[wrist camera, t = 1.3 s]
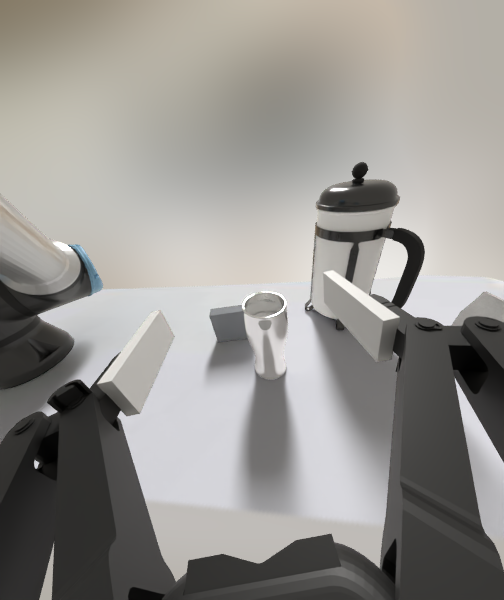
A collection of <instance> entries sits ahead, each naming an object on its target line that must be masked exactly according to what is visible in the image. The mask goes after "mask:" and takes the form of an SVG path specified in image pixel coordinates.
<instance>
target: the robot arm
mask: <svg viewBox="0 0 504 600" xmlns="http://www.w3.org/2000/svg"><path fill="white" fill-rule="evenodd" d="M323 284H324V303H325V304H326V305H327V307H328V308H329V309H330V310H331V311H332V312H333V313H334V314H335V316H336V317H337V318H338V319H339V320H340V321H341V322H342V324H343V325H344V326H345V327H346V328H347V329H348V330H349V332H350V333H351V334H352V335H353V336H354V337H355V338H356V339H357V341H358V342H359V343H360V344H361V345H362V346H363V347H364V349H365V350H366V351H367V352H368V353H369V354H370V355H371V357H372V358H373V359H374V360H375V361H376V362H377V363H378V362H383V361H387V360H391V359H392V354H393V351H394V352H395V353H396V354H397V355H398V356H399V359H398V364H397V368H396V372H397V381H396V394H395V407H394V420H393V432H392V445H391V458H390V471H389V483H388V496H387V509H386V518H385V525H384V531H383V539H382V548H381V560H380V569H379V568H378V567H377V566H376V565H375V564H374V563H373V562H371V561H370V560H369V559H367V558H366V557H365V556H364V555H362V554H360V553H359V552H357V551H355V550H354V549H352V548H350V547H347V546H345V545H343V544H339V543H335V542H334V541H333V537H332V534H327V535H322V536H317V537H311V538H306V539H301V540H296V541H294V542H293V543H291V544H290V545H288V546H287V547H286V548H284V549H283V550H281V551H280V552H278V553H276V554H275V555H274V556H272V557H271V558H269V559H268V560H266V561H265V562H263V563H260V564H257V563H253V562H250V561H246V560H242V559H239V558H235V557H232V556H228V555H224V554H220V555H215V556H210V557H205V558H199V559H194V560H189V561H188V568H187V573H186V574H185V575H184V576H182V577H181V578H180V579H179V580H178V581H177V582H176V581H175V579H174V576H173V574H172V572H171V571H170V569H169V568H168V566H167V565H166V563H165V562H164V560H163V558H162V555H161V552H160V549H159V546H158V542H157V539H156V536H155V532H154V529H153V526H152V523H151V520H150V516H149V513H148V509H147V506H146V503H145V499H144V496H143V493H142V490H141V486H140V483H139V480H138V476H137V473H136V470H135V466H134V463H133V460H132V457H131V453H130V450H129V447H128V443H127V440H126V437H125V433H124V430H123V427H122V423H121V421H120V419H119V418H118V417H117V416H118V414H119V412H120V411H122V412H123V413H124V414H125V415H126V416H131V415H135V414H140V412H141V410H142V408H143V406H144V403H145V401H146V399H147V397H148V395H149V392H150V390H151V388H152V386H153V384H154V381H155V379H156V377H157V375H158V372H159V370H160V368H161V366H162V364H163V361H164V359H165V357H166V355H167V352H168V350H169V348H170V346H171V344H172V341H173V339H174V337H175V336H174V334H173V332H172V331H171V329H170V327H169V325H168V323H167V321H166V319H165V317H164V316H163V314H162V312H161V310H159V311H154V312H151V313H150V315H149V316H148V317H147V319H146V320H145V321H144V322H143V324H142V325H141V326H140V328H139V329H138V330H137V332H136V333H135V334H134V336H133V337H132V338H131V340H130V341H129V342H128V344H127V345H126V346H125V347H124V349H123V350H122V351H121V352H120V353H119V354H118V355H117V356H115V357H114V358H113V359H112V361H111V362H110V363H109V365H108V366H107V367H106V368H105V370H104V372H102V373H101V375H100V376H99V377H98V379H97V380H96V381H95V382H94V384H93V385H92V386H91V388H90V389H89V388H88V387H87V386H86V385H85V384H84V383H83V382H82V381H81V380H74V381H71V382H69V383H67V384H65V385H64V386H62V387H61V388H59V389H58V390H57V391H55V392H54V393H53V394H52V395H51V397H50V398H49V399H48V401H47V403H48V404H49V405H51V406H52V407H53V408H54V409H55V410H57V411H58V412H57V413H55V414H53V415H51V416H49V417H48V416H47V415H45V414H44V413H43V412H36V413H34V414H31V415H29V416H28V417H26V418H24V419H22V420H21V421H19V422H18V423H17V424H16V425H15V426H14V427H13V428H12V429H11V430H10V431H9V432H8V434H7V435H6V436H5V438H4V439H3V441H2V443H1V444H0V600H39V598H40V594H41V590H42V586H43V582H44V579H45V575H46V571H47V567H48V563H49V559H50V555H51V551H52V548H53V543H54V564H53V586H52V600H504V570H503V567H502V563H501V559H500V556H499V554H498V551H497V549H496V547H495V545H494V543H493V542H492V540H491V539H490V538H489V537H488V536H487V535H486V533H485V532H484V529H483V527H482V524H481V520H480V515H479V509H478V504H477V498H476V493H475V487H474V482H473V477H472V471H471V466H470V460H469V455H468V449H467V444H466V438H465V433H464V427H463V422H462V417H461V411H460V406H459V400H458V395H457V389H456V384H455V378H456V380H457V382H458V384H459V385H460V387H461V389H462V391H463V392H464V394H465V396H466V398H467V399H468V401H469V403H470V405H471V406H472V408H473V410H474V412H475V413H476V415H477V417H478V418H479V420H480V422H481V424H482V425H483V427H484V429H485V431H486V432H487V434H488V436H489V438H490V439H491V441H492V443H493V445H494V446H495V448H496V450H497V452H498V453H499V455H500V457H501V459H502V460H503V462H504V322H502V321H499V320H497V319H494V318H489V317H481V316H473V317H468V318H466V319H465V320H464V322H463V325H462V326H443V325H442V324H440V323H439V322H437V321H435V320H432V319H428V318H419V317H417V318H415V317H413V316H412V315H410V314H408V313H407V312H405V311H404V310H402V309H401V308H399V307H398V306H395V305H394V304H393V303H391V302H390V301H388V300H387V299H385V298H384V297H381V296H378V295H375V294H372V295H368V294H366V293H365V292H363V291H362V290H360V289H359V288H358V287H356V286H355V285H353V284H352V283H350V282H349V281H348V280H346V279H345V278H343V277H342V276H340V275H339V274H338V273H336V272H335V271H333V270H332V271H327V272H323ZM102 288H103V283H102V281H101V279H100V277H99V275H98V274H97V271H96V269H95V268H94V266H93V264H92V262H91V260H90V259H89V257H88V255H87V254H86V252H85V251H84V249H83V248H82V247H81V246H80V245H65V244H63V243H61V242H59V241H56V240H53V239H48V238H47V237H46V236H45V235H44V234H43V233H42V232H41V231H40V230H39V229H37V228H36V227H35V226H34V225H33V224H32V223H31V222H30V221H29V220H28V219H27V218H26V217H24V216H23V214H21V213H20V212H19V211H18V210H17V209H16V208H15V207H14V206H13V205H12V204H11V203H10V202H9V201H7V199H5V198H4V197H3V196H2V195H1V194H0V389H5V388H10V387H14V386H17V385H20V384H22V383H25V382H27V381H29V380H31V379H33V378H35V377H37V376H39V375H41V374H42V373H44V372H46V371H47V370H49V369H50V368H52V367H53V366H54V365H56V364H57V363H58V362H59V361H61V360H62V359H63V358H64V357H65V356H66V355H67V354H68V353H69V351H70V350H71V349H72V347H73V345H74V339H73V338H72V337H71V336H70V335H69V334H68V333H67V332H66V331H64V330H61V329H59V328H57V327H55V326H53V325H51V324H49V323H47V322H45V321H43V320H42V319H40V318H39V317H38V316H37V315H38V314H40V313H43V312H46V311H48V310H51V309H54V308H56V307H59V306H62V305H64V304H67V303H70V302H72V301H75V300H78V299H81V298H83V297H86V296H91V295H92V294H94V293H96V292H98V291H100V290H102ZM454 377H455V378H454ZM34 460H36V461H38V462H39V465H38V468H37V469H35V467H34Z"/></svg>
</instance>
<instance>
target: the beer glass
mask: <svg viewBox="0 0 504 600" xmlns="http://www.w3.org/2000/svg"><path fill="white" fill-rule="evenodd" d="M242 310H243V321H244V328H245V332H246V336H247V339H248V341H249V344H250V346H251V348H252V350H253V352H254V355H255V370H256V372H257V374H258V375H259V376H260V377H262V378H264V379H267V380H274V379H277V378H279V377H281V376H282V375H283V374H284V373H285V371H286V361H285V358H284V349H285V345H286V341H287V335H288V314H287V306H286V300H285V298H284V297H283V296H282V295H280V294H278V293H275V292H258V293H255V294H252V295H250V296H249V297H247V298H246V299H245V300H244V302H243V304H242Z"/></svg>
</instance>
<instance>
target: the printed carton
mask: <svg viewBox="0 0 504 600" xmlns="http://www.w3.org/2000/svg"><path fill="white" fill-rule="evenodd" d="M473 316H481V317H489V318H494V319H497V320H499V321H502V322H504V300H503V299H501V298H499V297H497V296H495V295H492V294H490V293H488V292H483V293H482V294H481V295H480V296H479V297H478V298H477V299H476V300H475V301H473V302H472V303H471V304H470V305H468V306H467V307H466V308H465V309H464V310H462V311H461V312H460V314H459V315H458V317H457V318H456V319H455V321H454V322H453V324H452V325H451V326H462V325H463V322H464V320H465V319H466V318H468V317H473Z"/></svg>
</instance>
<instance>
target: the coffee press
mask: <svg viewBox="0 0 504 600" xmlns="http://www.w3.org/2000/svg"><path fill="white" fill-rule="evenodd" d="M367 171H368V166H367V164H366V163H364V162H360V163H358V164H357V165H355V167H354V168H353V171H352V175H353V177H354V178H356V179H353V180H352V181H350V182H343V183H339V184H335V185H332V186H330V187H328V188H327V189H325V190H324V191H323V192H322V194H321V196H320V198H319V200H318V201H317V202H316V208H317V210H318V215H317V222H316V225H315V239H316V242H315V239H314V253H315V255H313V267H314V269H313V268H312V280H313V283H312V281H311V293H312V297H311V294H310V300H309V301H308V302H307V303H306V304H305V310H307V311H309V310H311V309H313V308H315V310H316V311H317V312H319V313H320V314H322V315H324V316H326V317H329V318H333V319H336V329H337V330H344V325H343V324H342V322H341V321H340V320H339V319H338V318H337V317H336V316H335V314H334V313H333V312H332V311H331V310H330V309H329V308H328V307H327V305H326V304H325V303H324V284H323V272H327V271H332V270H333V271H335V272H336V273H338V274H339V275H340V276H342V277H343V278H345V279H346V280H348V281H349V282H350V283H352V284H353V285H355V286H356V287H358V288H359V289H360V290H362V291H363V292H365V293H366V294H368V295H370V294H371V287H372V284H373V280H374V277H375V273H376V270H377V266H378V263H379V259H380V256H381V252H382V248H383V245H384V242H385V239H386V238H389V239H393V240H394V241H397V242H400V243H402V244H403V245H404V246H405V247H406V250H407V253H408V260H407V264H406V267H405V270H404V272H403V275H402V277H401V280H400V283H399V285H398V288H397V290H396V293H395V296H394V298H393V300H392V302H391V303H393V304H394V305H395V306H398V307H399V308H402V307H403V306H404V304H405V303H406V301H407V299H408V297H409V295H410V293H411V291H412V288H413V286H414V284H415V282H416V279H417V277H418V275H419V272H420V270H421V267H422V264H423V260H424V254H425V251H424V245H423V243H422V240H421V239H420V238H419V237H418V236H417V235H416V234H415V233H413V232H411V231H409V230H406V229H403V228H398V229H396V228H390V226H391V223H392V222H391V217H392V214H393V210H394V208H395V206H397V204H398V203H399V200H400V197H399V196H398V195H397V188H396V186H395V185H394V184H392V183H391V182H389V181H385V180H364V179H363V178H362V177H363V176H364V175H365V174H366V173H367ZM314 253H313V254H314ZM310 302H312V306H310V307H307V306H308V305H309V304H310Z"/></svg>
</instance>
